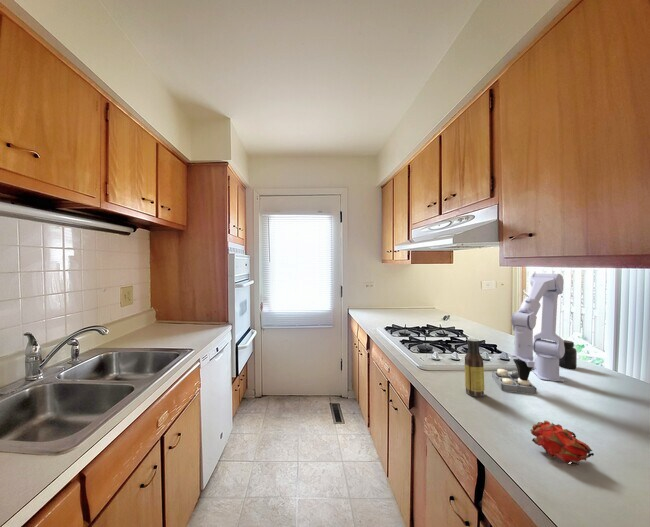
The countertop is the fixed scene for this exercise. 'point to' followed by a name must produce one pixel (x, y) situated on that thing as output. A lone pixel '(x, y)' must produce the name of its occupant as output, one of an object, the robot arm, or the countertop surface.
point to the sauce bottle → (474, 369)
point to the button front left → (523, 382)
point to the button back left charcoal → (515, 374)
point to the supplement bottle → (569, 356)
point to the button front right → (507, 381)
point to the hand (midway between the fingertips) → (523, 379)
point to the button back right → (502, 372)
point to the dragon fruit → (560, 442)
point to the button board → (514, 385)
